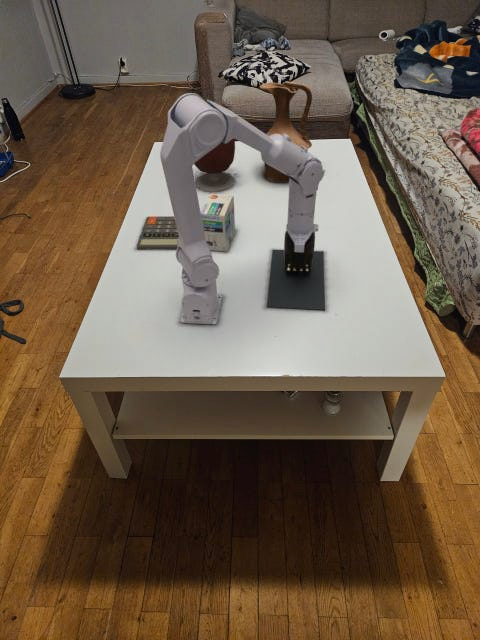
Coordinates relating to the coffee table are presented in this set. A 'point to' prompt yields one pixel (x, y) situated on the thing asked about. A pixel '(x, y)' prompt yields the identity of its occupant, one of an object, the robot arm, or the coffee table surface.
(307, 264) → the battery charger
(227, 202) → the light bulb box
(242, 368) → the coffee table surface
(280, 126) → the pitcher
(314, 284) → the mat
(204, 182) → the mate gourd
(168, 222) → the calculator
